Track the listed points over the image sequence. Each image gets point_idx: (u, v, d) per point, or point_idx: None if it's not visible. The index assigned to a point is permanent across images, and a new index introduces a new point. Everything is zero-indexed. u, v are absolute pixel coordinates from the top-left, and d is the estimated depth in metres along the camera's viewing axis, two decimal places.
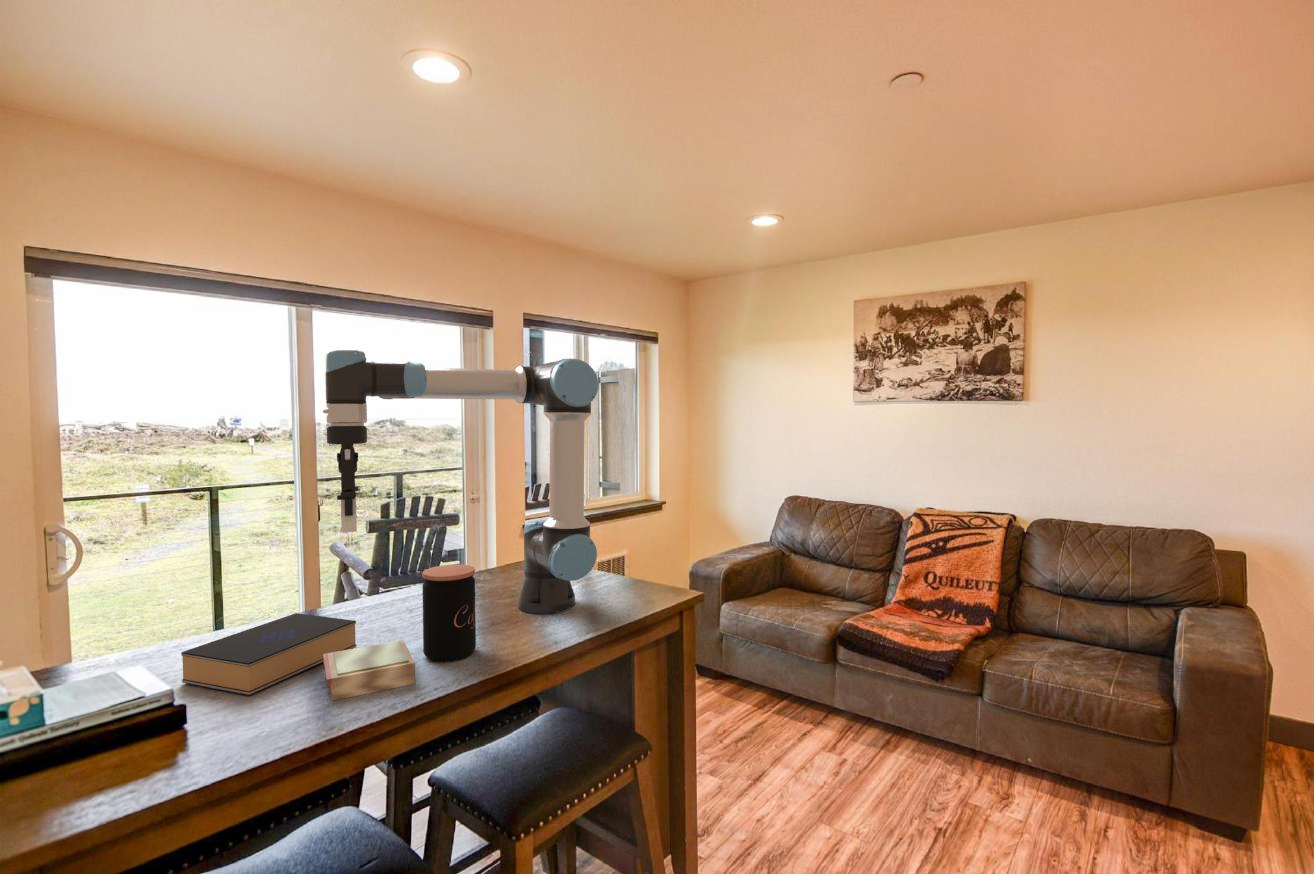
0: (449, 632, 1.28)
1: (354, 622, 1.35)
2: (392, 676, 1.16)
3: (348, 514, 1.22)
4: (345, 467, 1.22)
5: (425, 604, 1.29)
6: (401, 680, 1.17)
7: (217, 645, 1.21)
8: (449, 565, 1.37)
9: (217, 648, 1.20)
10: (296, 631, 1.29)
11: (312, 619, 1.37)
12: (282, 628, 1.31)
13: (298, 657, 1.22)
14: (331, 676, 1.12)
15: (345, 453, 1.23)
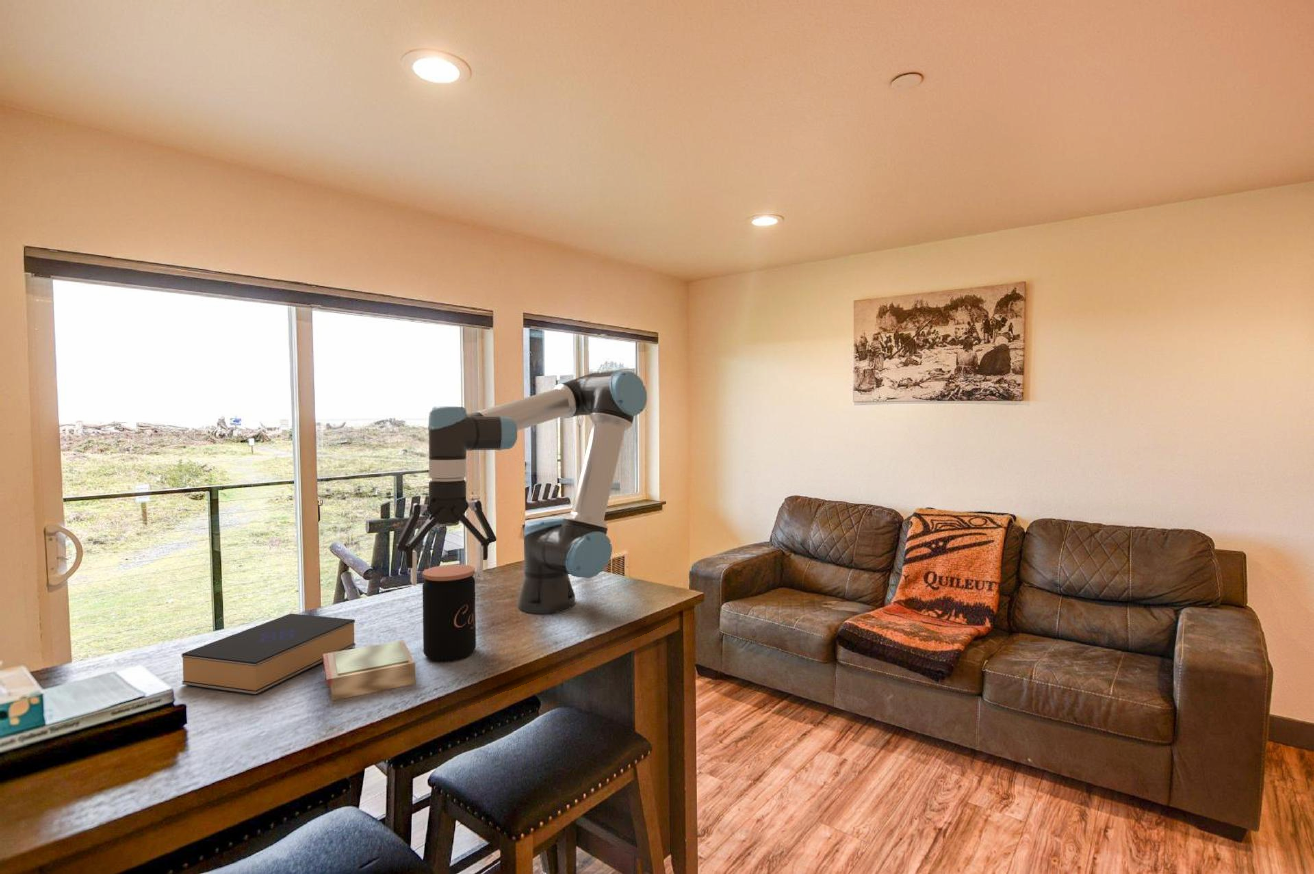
0: (449, 632, 1.28)
1: (353, 621, 1.36)
2: (392, 676, 1.16)
3: (406, 566, 1.28)
4: (408, 520, 1.28)
5: (425, 604, 1.29)
6: (401, 680, 1.17)
7: (217, 646, 1.21)
8: (449, 565, 1.37)
9: (218, 649, 1.19)
10: (296, 631, 1.29)
11: (309, 619, 1.37)
12: (280, 628, 1.31)
13: (301, 656, 1.23)
14: (331, 676, 1.12)
15: (413, 507, 1.29)
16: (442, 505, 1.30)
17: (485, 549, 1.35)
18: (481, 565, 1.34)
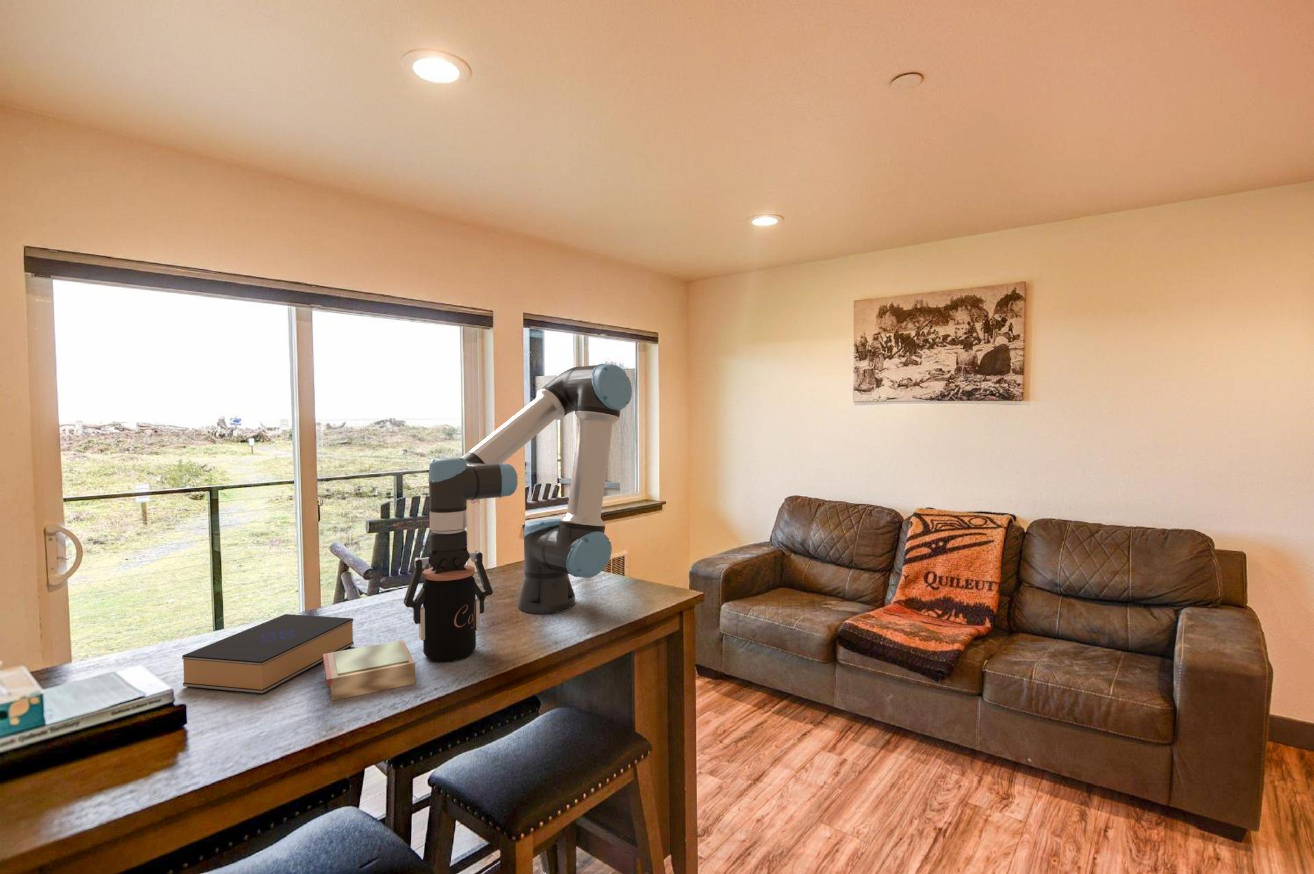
0: (449, 632, 1.28)
1: (352, 620, 1.37)
2: (392, 676, 1.16)
3: (414, 621, 1.29)
4: (412, 576, 1.29)
5: (425, 604, 1.29)
6: (401, 680, 1.17)
7: (218, 647, 1.20)
8: None
9: (219, 650, 1.19)
10: (296, 630, 1.29)
11: (306, 619, 1.37)
12: (279, 628, 1.31)
13: (304, 655, 1.23)
14: (331, 676, 1.12)
15: (414, 562, 1.29)
16: (443, 555, 1.31)
17: (481, 602, 1.35)
18: (478, 619, 1.34)
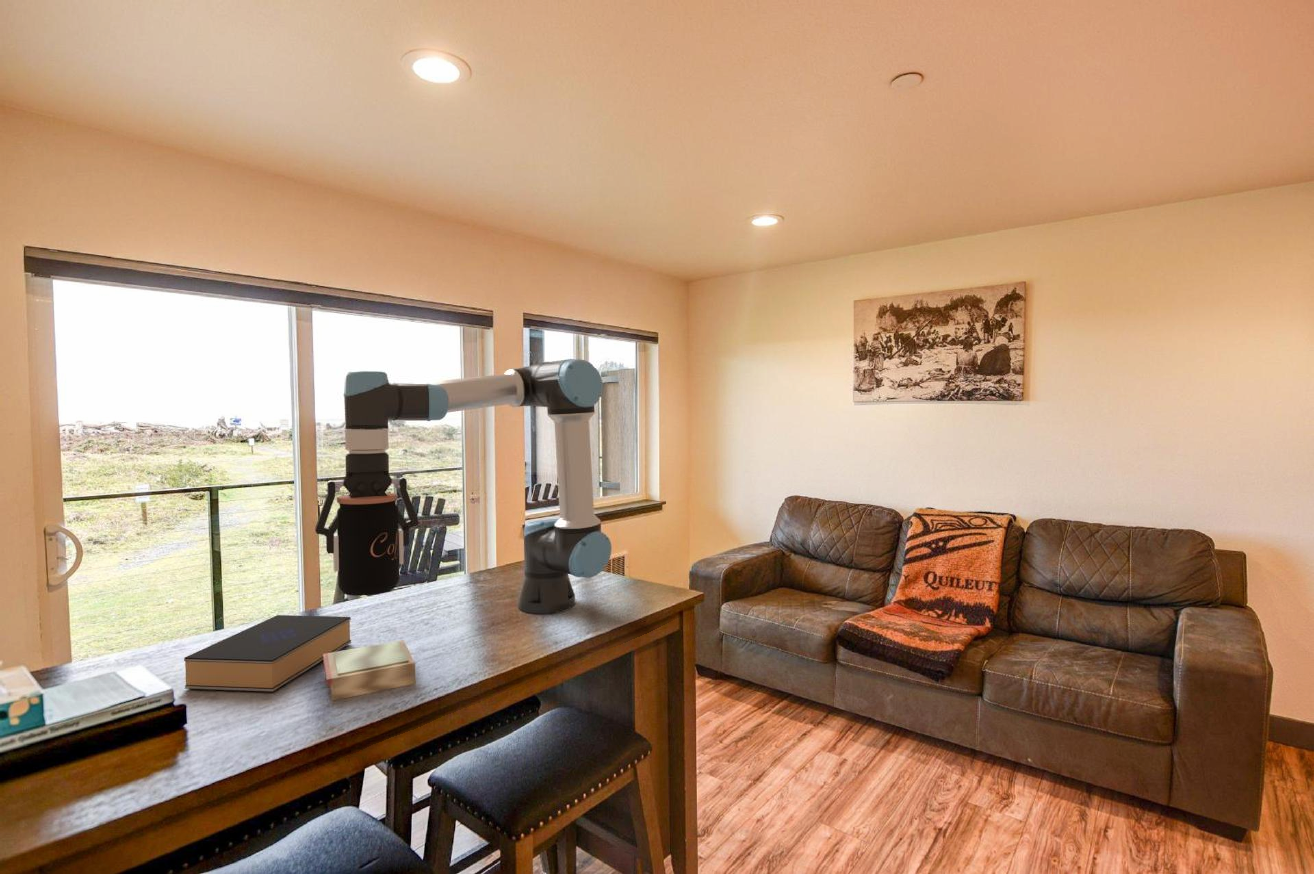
0: (365, 561, 1.15)
1: (349, 618, 1.38)
2: (392, 676, 1.16)
3: (327, 551, 1.16)
4: (325, 500, 1.16)
5: (339, 531, 1.16)
6: (401, 680, 1.17)
7: (219, 648, 1.19)
8: None
9: (222, 651, 1.18)
10: (295, 630, 1.30)
11: (302, 619, 1.37)
12: (277, 629, 1.31)
13: (308, 653, 1.24)
14: (331, 676, 1.12)
15: (327, 485, 1.16)
16: (360, 479, 1.18)
17: (405, 533, 1.22)
18: (401, 551, 1.21)
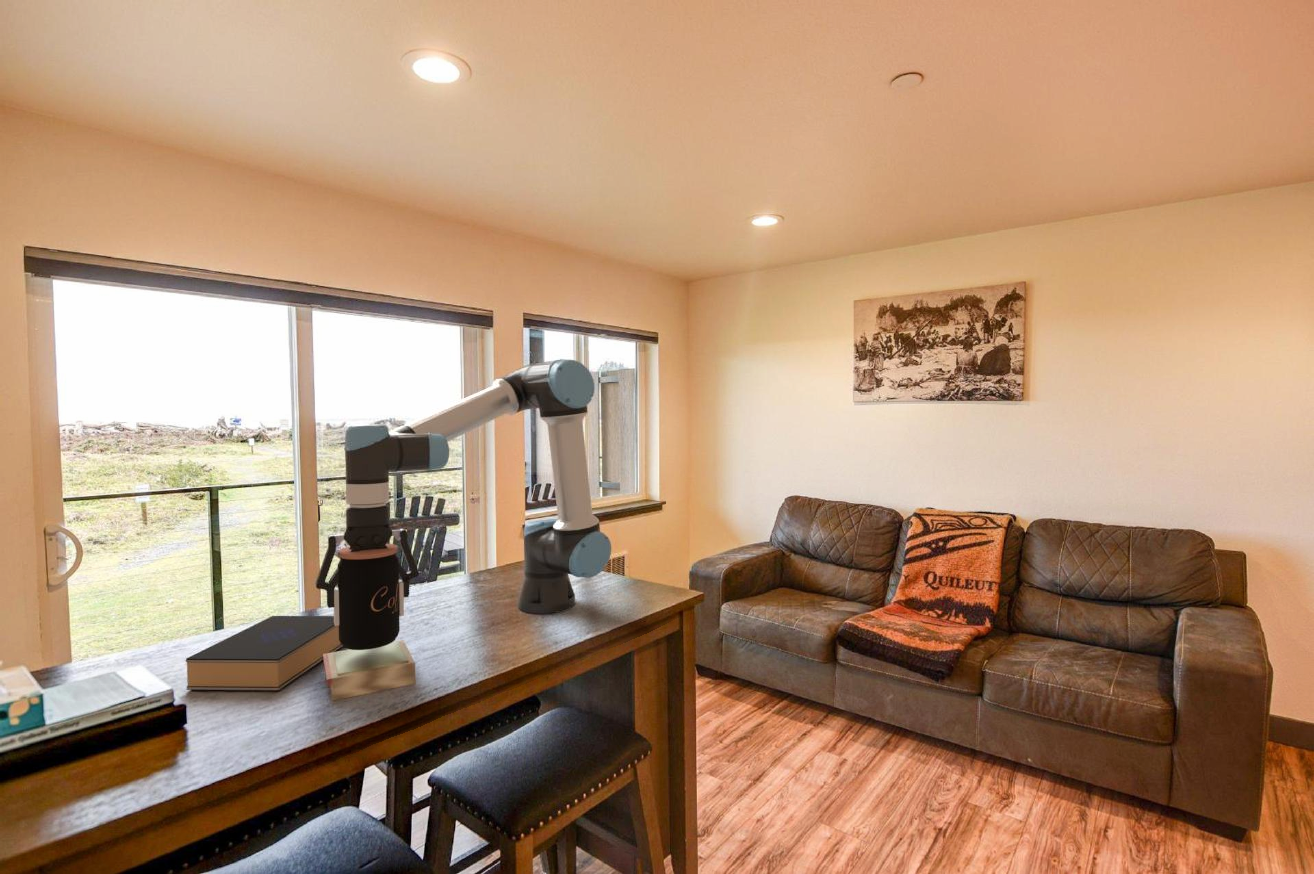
0: (365, 616, 1.15)
1: None
2: (392, 676, 1.16)
3: None
4: (325, 554, 1.16)
5: (339, 585, 1.16)
6: (401, 680, 1.17)
7: (220, 649, 1.19)
8: None
9: (224, 651, 1.18)
10: (295, 630, 1.30)
11: (299, 619, 1.37)
12: (275, 629, 1.30)
13: (310, 652, 1.25)
14: (331, 676, 1.12)
15: None
16: (361, 532, 1.18)
17: (406, 585, 1.23)
18: (401, 603, 1.22)
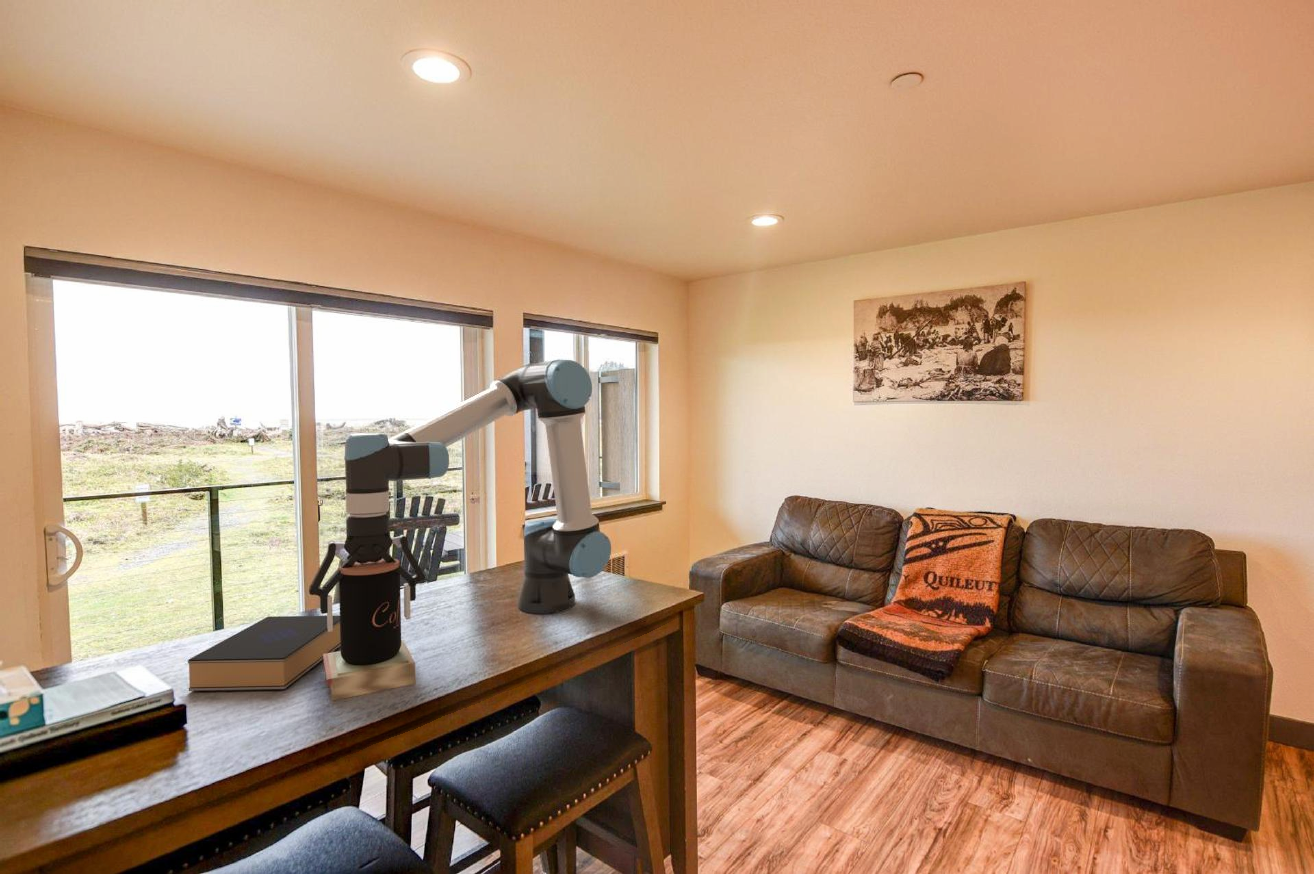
0: (367, 632, 1.15)
1: None
2: (392, 676, 1.16)
3: None
4: (323, 561, 1.16)
5: (341, 601, 1.16)
6: (401, 680, 1.17)
7: (221, 650, 1.19)
8: None
9: (226, 652, 1.18)
10: (294, 629, 1.30)
11: (296, 619, 1.37)
12: (274, 629, 1.30)
13: (312, 651, 1.25)
14: (331, 676, 1.12)
15: (328, 546, 1.16)
16: (361, 543, 1.18)
17: (412, 588, 1.23)
18: (408, 607, 1.22)
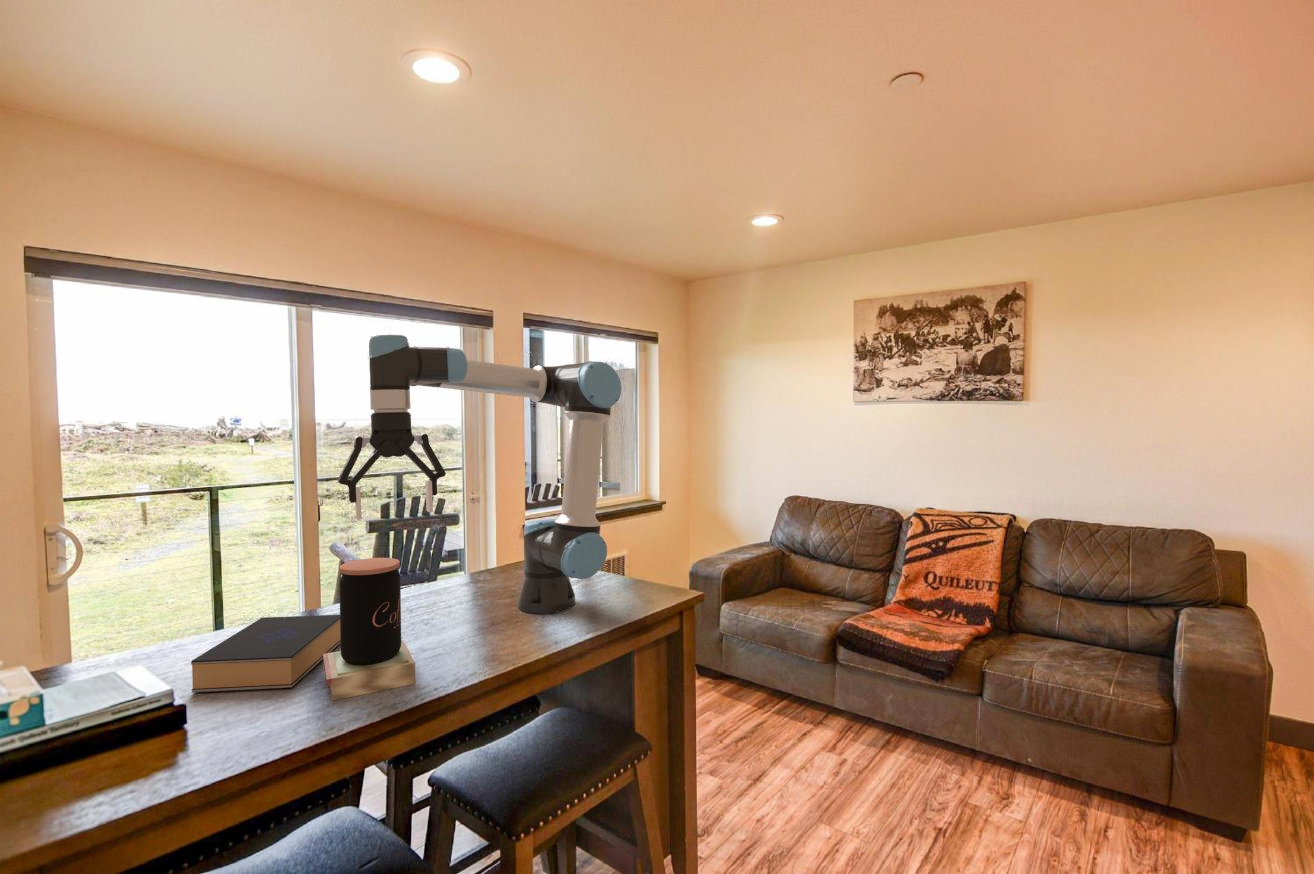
0: (367, 632, 1.15)
1: None
2: (392, 676, 1.16)
3: (349, 500, 1.23)
4: (350, 454, 1.23)
5: (341, 601, 1.16)
6: (401, 680, 1.17)
7: (223, 650, 1.18)
8: (373, 558, 1.24)
9: (229, 652, 1.17)
10: (293, 629, 1.30)
11: (292, 619, 1.37)
12: (272, 629, 1.30)
13: (315, 650, 1.26)
14: (331, 676, 1.12)
15: (354, 440, 1.24)
16: (386, 438, 1.25)
17: (434, 484, 1.31)
18: (430, 500, 1.30)
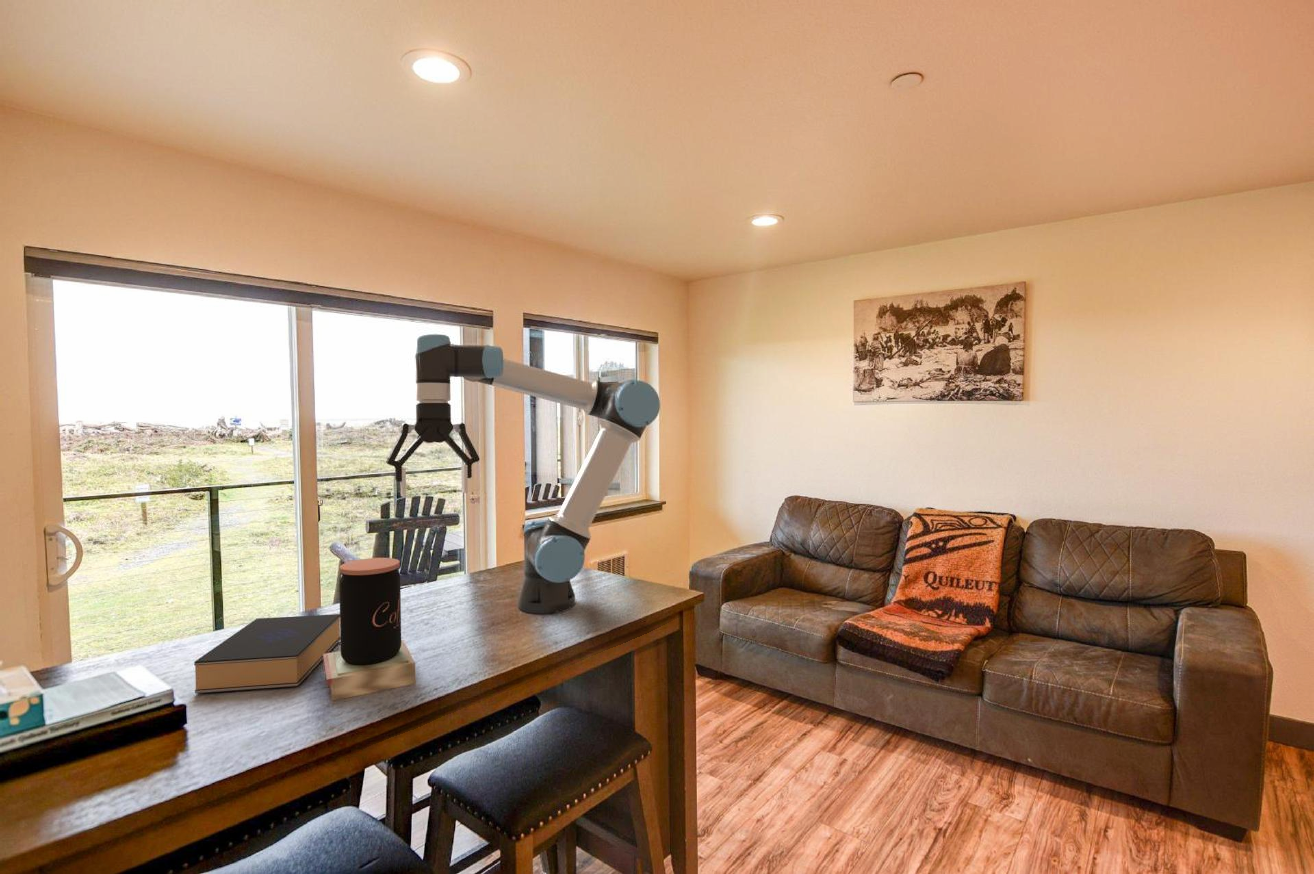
0: (367, 632, 1.15)
1: (339, 615, 1.40)
2: (392, 676, 1.16)
3: (396, 480, 1.40)
4: (398, 439, 1.40)
5: (341, 601, 1.16)
6: (401, 680, 1.17)
7: (225, 651, 1.18)
8: (373, 558, 1.24)
9: (232, 652, 1.17)
10: (293, 629, 1.30)
11: (289, 619, 1.37)
12: (271, 630, 1.30)
13: (317, 649, 1.26)
14: (331, 676, 1.12)
15: (401, 426, 1.40)
16: (428, 425, 1.42)
17: (469, 468, 1.47)
18: (465, 482, 1.46)
